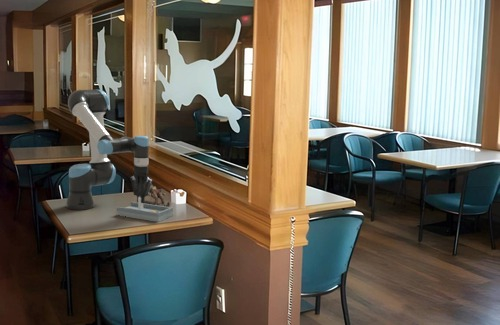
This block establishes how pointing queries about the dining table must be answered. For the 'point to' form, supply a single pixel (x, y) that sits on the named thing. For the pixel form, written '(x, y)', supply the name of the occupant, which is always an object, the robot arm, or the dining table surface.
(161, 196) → the figurine
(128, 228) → the dining table surface
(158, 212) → the tray
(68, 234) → the dining table surface
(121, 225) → the dining table surface
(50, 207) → the dining table surface
